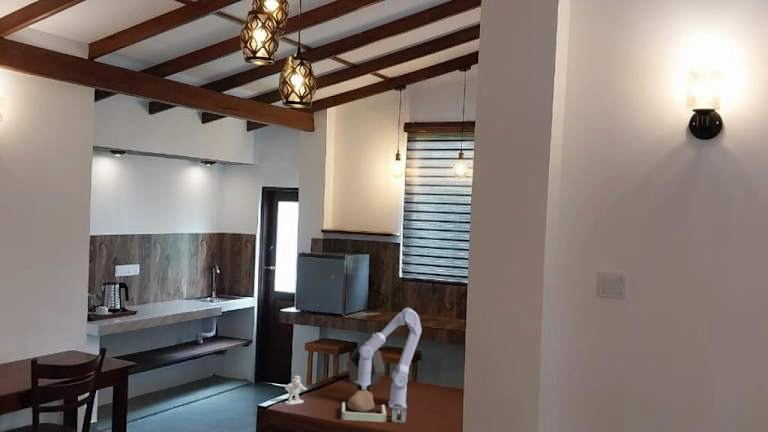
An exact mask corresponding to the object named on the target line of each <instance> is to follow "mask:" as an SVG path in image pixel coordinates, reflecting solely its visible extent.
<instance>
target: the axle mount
mask: <svg viewBox="0 0 768 432" xmlns="http://www.w3.org/2000/svg"><path fill="white" fill-rule="evenodd" d="M397 410H399V411H401V417H400V418H397ZM391 412H392V413H391V423H397V422H400V423H399V424H401V423H402V424H405V423H406V419H407V408H406V407H394V406H393V410H392V409H391Z"/></svg>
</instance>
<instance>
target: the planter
mask: <svg viewBox="0 0 768 432" xmlns="http://www.w3.org/2000/svg"><path fill="white" fill-rule="evenodd" d="M359 350H360V348H355V350H353V352H352V354H351V355H350V357H349V359H348V360H347V361H346V366H347V367H346V368H347V372H348V375H349V379H350V383H351V384H354V385H359V384H358V383H355V381H358V371H359V361H360V353H359ZM371 362H372V367H371V380H370V382H371V384H370V385H369V386H370V387H372V386H376V385H377V384H378V382H379V381H380V379H381V378H382V376H383V375H384V373H385V372H386V368H385V363H384V360H383V356H382V352H381V350H379V349H378V350H376V351H375V352H374V354H373V357H372V361H371Z"/></svg>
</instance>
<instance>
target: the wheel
mask: <svg viewBox="0 0 768 432" xmlns="http://www.w3.org/2000/svg"><path fill="white" fill-rule="evenodd" d="M394 407H403V406H402V405H400V404H396V405H394ZM392 410H393V407H391V411H392ZM397 419H401V411H399V410H397Z"/></svg>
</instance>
